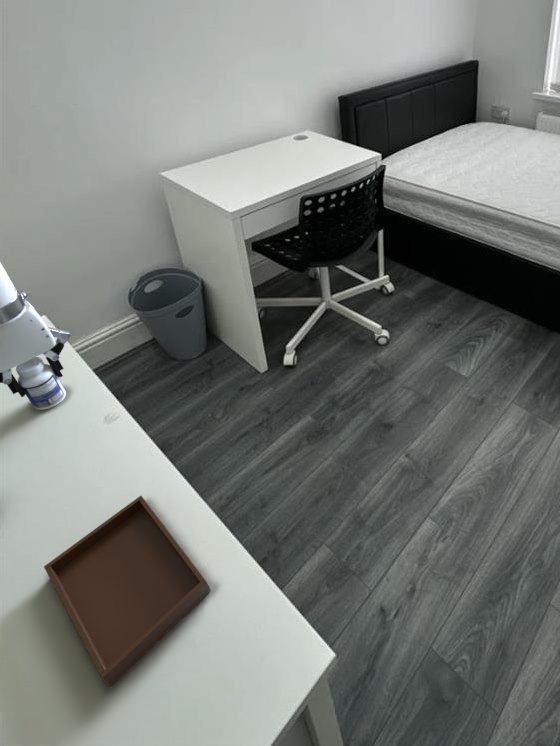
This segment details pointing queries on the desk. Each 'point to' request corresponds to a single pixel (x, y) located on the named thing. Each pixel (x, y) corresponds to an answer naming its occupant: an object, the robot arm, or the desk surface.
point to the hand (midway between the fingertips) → (39, 382)
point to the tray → (125, 587)
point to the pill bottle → (40, 383)
